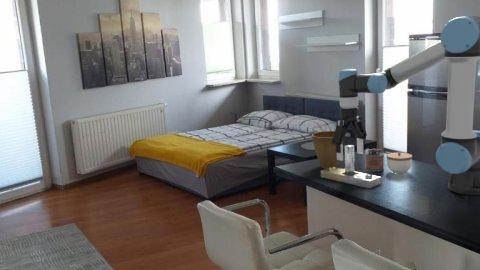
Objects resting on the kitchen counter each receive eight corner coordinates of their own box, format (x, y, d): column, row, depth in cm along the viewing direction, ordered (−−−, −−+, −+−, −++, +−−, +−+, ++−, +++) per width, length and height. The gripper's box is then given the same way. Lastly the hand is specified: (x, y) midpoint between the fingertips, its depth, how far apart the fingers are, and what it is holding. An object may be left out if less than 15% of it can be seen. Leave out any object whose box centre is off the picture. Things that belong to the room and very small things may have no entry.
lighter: (364, 170, 219) (364, 149, 217) (366, 168, 222) (366, 147, 220) (383, 172, 216) (382, 150, 214) (384, 170, 219) (384, 148, 217)
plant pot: (323, 161, 240) (322, 129, 237) (350, 165, 230) (350, 132, 227) (306, 168, 229) (305, 135, 226) (334, 172, 219) (333, 138, 216)
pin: (356, 180, 206) (356, 145, 203) (350, 182, 204) (350, 147, 201) (349, 178, 209) (348, 144, 206) (343, 180, 207) (342, 146, 204)
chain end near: (381, 183, 199) (381, 174, 198) (369, 188, 194) (369, 178, 193) (350, 177, 211) (350, 168, 210) (338, 181, 206) (338, 172, 205)
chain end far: (361, 179, 207) (361, 170, 206) (349, 183, 202) (349, 174, 201) (332, 173, 219) (332, 164, 218) (320, 176, 214) (320, 168, 213)
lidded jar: (415, 175, 208) (415, 153, 207) (390, 176, 209) (390, 155, 207) (407, 168, 219) (407, 148, 217) (383, 169, 219) (383, 149, 217)
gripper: (360, 102, 211) (361, 150, 215) (321, 110, 196) (324, 161, 199) (374, 103, 205) (375, 152, 209) (336, 111, 190) (338, 164, 194)
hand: (350, 156), depth 204 cm, fingers open, 13 cm apart
